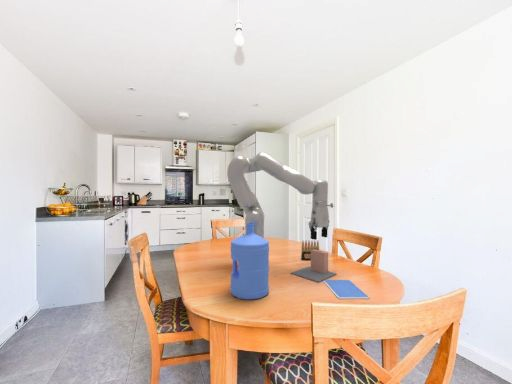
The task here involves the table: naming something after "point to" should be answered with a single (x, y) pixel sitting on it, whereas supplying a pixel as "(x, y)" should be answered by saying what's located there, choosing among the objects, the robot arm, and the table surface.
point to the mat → (313, 274)
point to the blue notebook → (345, 289)
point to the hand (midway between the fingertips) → (319, 238)
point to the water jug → (250, 265)
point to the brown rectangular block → (319, 261)
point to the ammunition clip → (308, 250)
